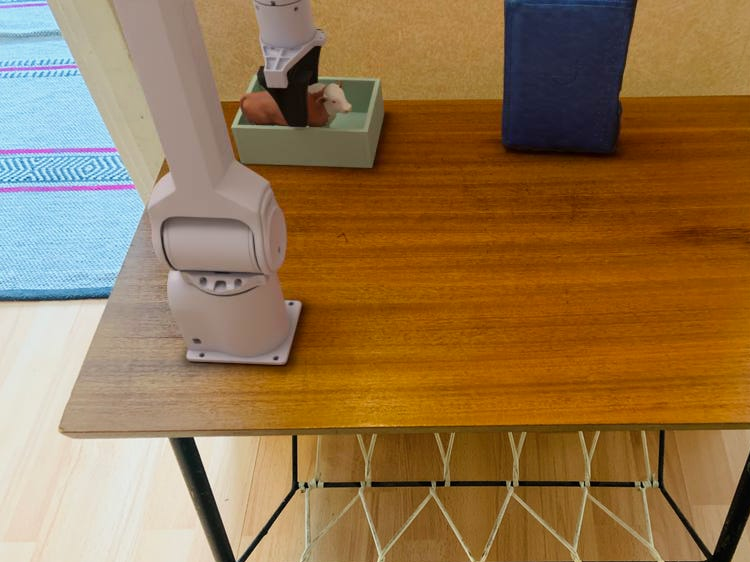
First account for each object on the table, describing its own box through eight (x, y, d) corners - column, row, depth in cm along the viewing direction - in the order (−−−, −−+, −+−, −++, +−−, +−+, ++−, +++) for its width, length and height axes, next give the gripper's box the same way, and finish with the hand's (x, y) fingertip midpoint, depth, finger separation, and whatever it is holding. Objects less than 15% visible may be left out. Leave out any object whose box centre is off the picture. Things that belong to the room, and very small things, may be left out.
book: (616, 135, 96) (643, -29, 80) (618, 162, 93) (647, -5, 77) (501, 130, 97) (505, -34, 81) (498, 156, 93) (503, -10, 78)
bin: (241, 163, 92) (230, 127, 88) (262, 110, 99) (253, 74, 95) (372, 168, 92) (367, 131, 88) (384, 114, 99) (380, 78, 95)
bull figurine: (359, 156, 91) (344, 94, 84) (251, 155, 93) (228, 94, 86) (368, 133, 93) (353, 72, 87) (262, 133, 95) (240, 73, 89)
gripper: (305, 29, 74) (326, 149, 85) (331, -39, 83) (347, 77, 94) (232, 27, 74) (262, 147, 85) (266, -40, 84) (289, 75, 94)
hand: (303, 110), depth 89 cm, fingers open, 5 cm apart
